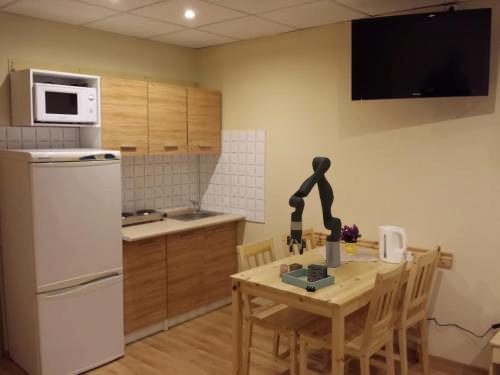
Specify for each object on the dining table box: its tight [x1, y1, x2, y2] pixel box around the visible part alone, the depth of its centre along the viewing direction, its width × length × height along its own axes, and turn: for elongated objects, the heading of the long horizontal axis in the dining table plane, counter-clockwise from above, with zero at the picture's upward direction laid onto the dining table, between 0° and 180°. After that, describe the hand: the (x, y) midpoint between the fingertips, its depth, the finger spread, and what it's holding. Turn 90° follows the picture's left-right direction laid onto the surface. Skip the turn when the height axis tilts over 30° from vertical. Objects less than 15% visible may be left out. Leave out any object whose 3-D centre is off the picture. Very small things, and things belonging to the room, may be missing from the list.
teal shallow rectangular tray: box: [281, 267, 336, 291], centre depth 277 cm, size 20×24×4 cm
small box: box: [307, 263, 328, 281], centre depth 275 cm, size 11×6×10 cm, turn 59°
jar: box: [279, 263, 289, 278], centre depth 289 cm, size 5×5×8 cm
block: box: [288, 262, 304, 272], centre depth 295 cm, size 6×6×6 cm
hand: (296, 253), depth 293 cm, fingers open, 8 cm apart
